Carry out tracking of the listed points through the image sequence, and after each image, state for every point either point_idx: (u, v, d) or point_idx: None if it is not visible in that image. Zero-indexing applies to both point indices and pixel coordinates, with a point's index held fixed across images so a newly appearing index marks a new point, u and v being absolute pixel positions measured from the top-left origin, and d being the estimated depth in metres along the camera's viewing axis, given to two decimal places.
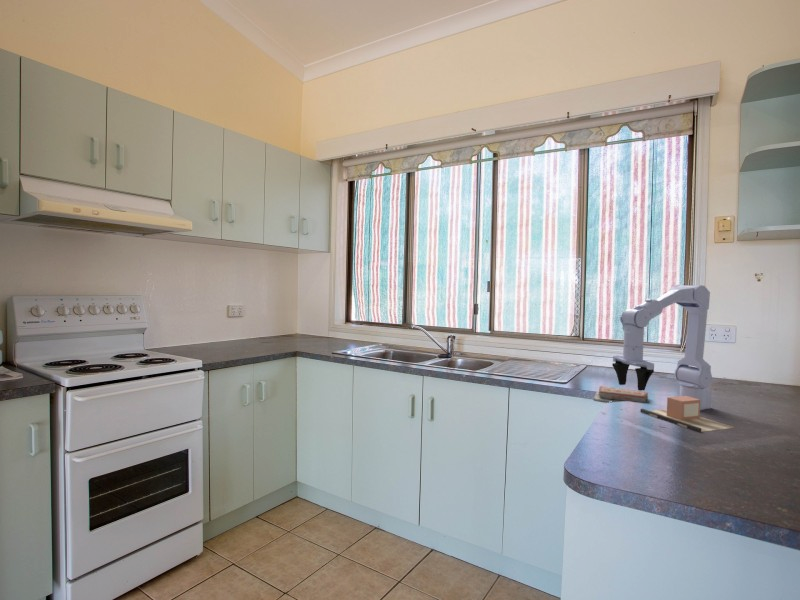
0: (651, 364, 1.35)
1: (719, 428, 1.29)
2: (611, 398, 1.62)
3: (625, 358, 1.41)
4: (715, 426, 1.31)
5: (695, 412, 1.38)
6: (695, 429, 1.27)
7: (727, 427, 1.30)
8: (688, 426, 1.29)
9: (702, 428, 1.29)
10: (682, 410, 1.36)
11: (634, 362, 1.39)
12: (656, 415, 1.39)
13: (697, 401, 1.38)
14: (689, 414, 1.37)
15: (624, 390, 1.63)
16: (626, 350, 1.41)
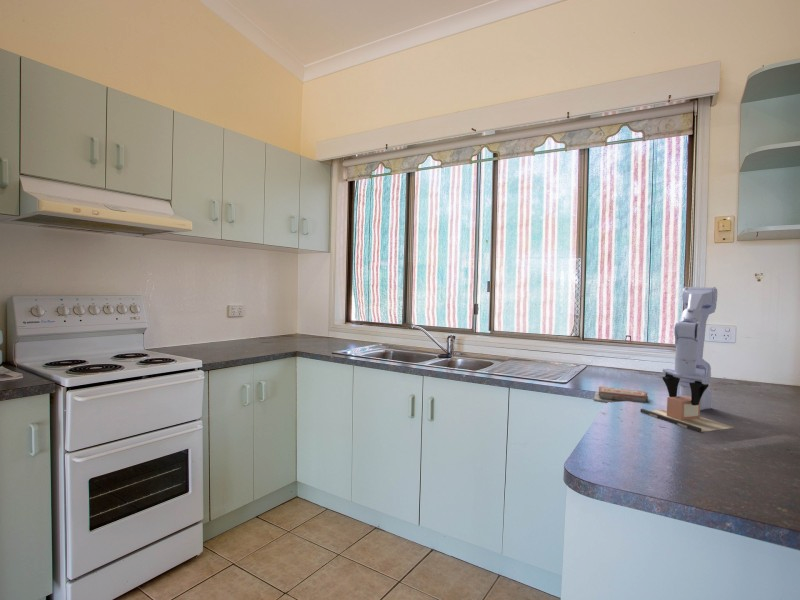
0: (707, 379, 1.32)
1: (719, 428, 1.29)
2: (611, 398, 1.61)
3: (678, 372, 1.39)
4: (715, 426, 1.31)
5: (695, 412, 1.38)
6: (695, 429, 1.27)
7: (727, 427, 1.30)
8: (688, 426, 1.29)
9: (702, 428, 1.29)
10: (682, 410, 1.36)
11: (688, 376, 1.36)
12: (656, 415, 1.39)
13: None
14: (689, 414, 1.37)
15: (624, 390, 1.63)
16: (678, 363, 1.38)
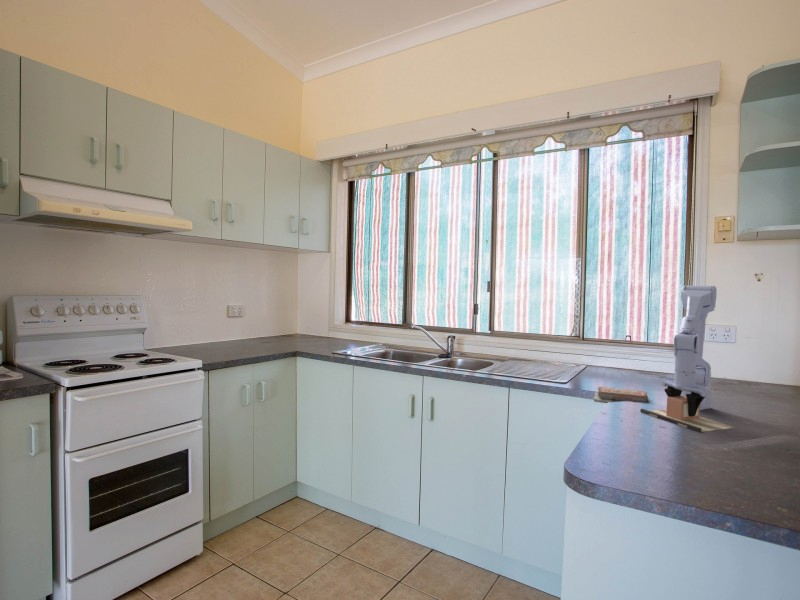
0: (706, 391, 1.33)
1: (719, 428, 1.29)
2: (612, 398, 1.61)
3: (677, 384, 1.39)
4: (715, 426, 1.31)
5: None
6: (695, 429, 1.27)
7: (727, 427, 1.30)
8: (688, 426, 1.29)
9: (702, 428, 1.29)
10: (682, 410, 1.36)
11: (687, 388, 1.36)
12: (656, 415, 1.39)
13: None
14: None
15: (624, 390, 1.63)
16: (678, 375, 1.39)
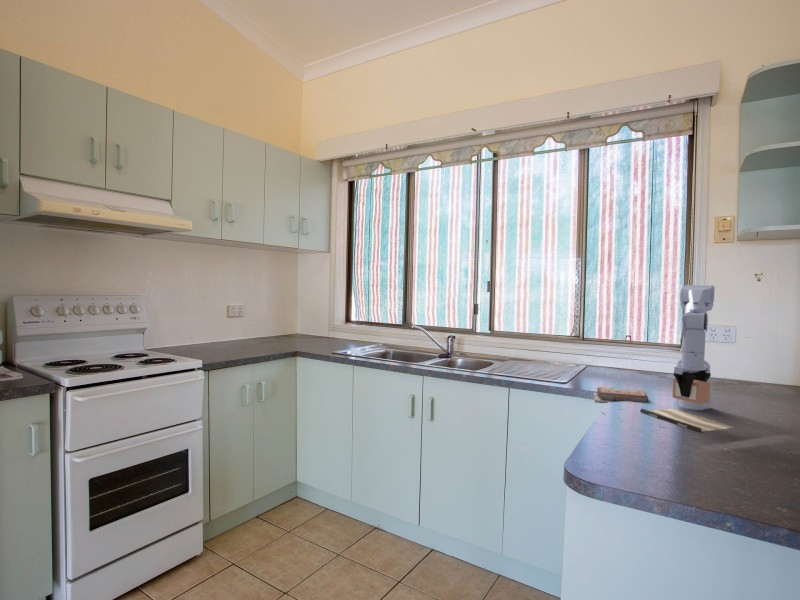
0: (677, 368, 1.31)
1: (719, 428, 1.29)
2: (612, 399, 1.61)
3: None
4: (715, 426, 1.31)
5: (691, 395, 1.31)
6: (695, 429, 1.27)
7: (727, 427, 1.30)
8: (688, 426, 1.29)
9: (702, 428, 1.29)
10: (674, 388, 1.36)
11: None
12: (656, 415, 1.39)
13: (695, 384, 1.30)
14: None
15: (623, 390, 1.63)
16: None
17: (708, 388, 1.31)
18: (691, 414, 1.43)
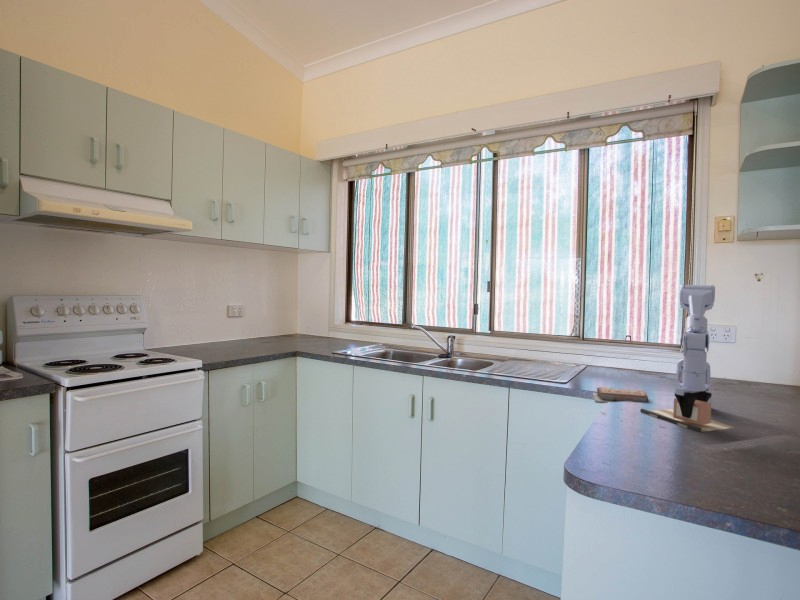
0: (678, 389, 1.29)
1: (719, 428, 1.29)
2: (613, 399, 1.60)
3: None
4: (715, 426, 1.31)
5: (692, 416, 1.30)
6: (695, 429, 1.27)
7: (727, 427, 1.30)
8: (688, 426, 1.29)
9: (702, 428, 1.29)
10: (675, 408, 1.35)
11: None
12: (656, 415, 1.39)
13: (696, 405, 1.29)
14: None
15: (623, 390, 1.63)
16: None
17: (709, 409, 1.30)
18: None
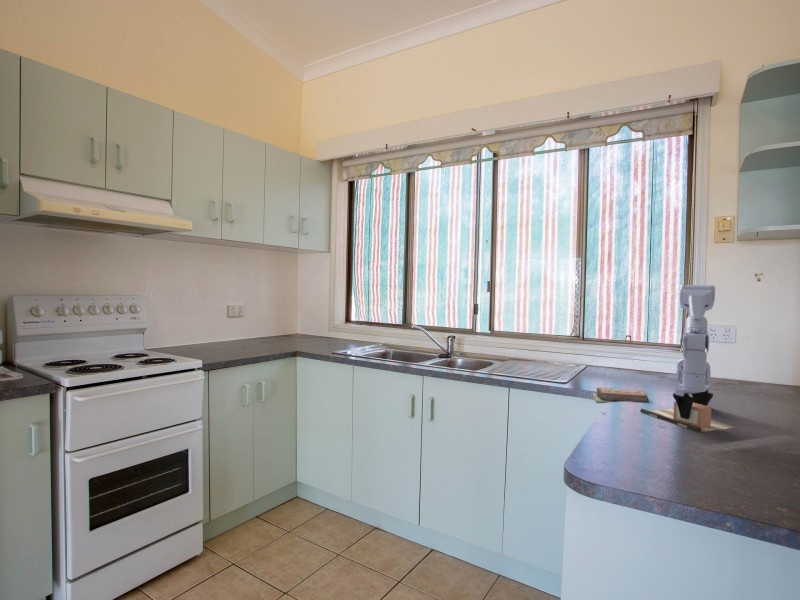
0: (678, 390, 1.29)
1: (719, 428, 1.29)
2: (613, 399, 1.60)
3: None
4: (715, 426, 1.31)
5: (692, 419, 1.30)
6: (695, 429, 1.27)
7: (727, 427, 1.30)
8: (688, 426, 1.29)
9: None
10: (675, 411, 1.35)
11: None
12: (656, 415, 1.39)
13: (696, 409, 1.29)
14: None
15: (623, 390, 1.63)
16: None
17: (709, 412, 1.30)
18: None
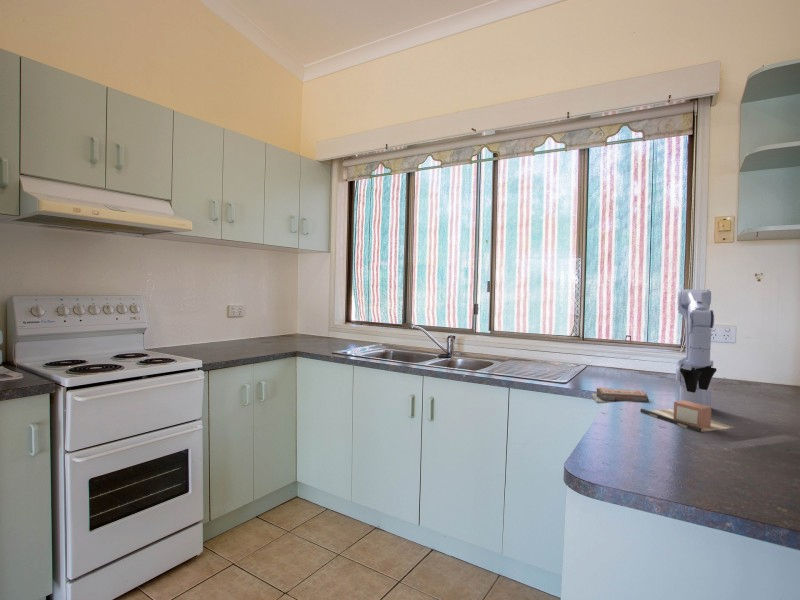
0: (686, 364, 1.34)
1: (719, 428, 1.29)
2: (614, 399, 1.60)
3: None
4: (715, 426, 1.31)
5: (692, 419, 1.30)
6: (695, 429, 1.27)
7: (727, 427, 1.30)
8: (688, 426, 1.29)
9: None
10: (675, 411, 1.35)
11: None
12: (656, 415, 1.39)
13: (696, 409, 1.29)
14: (684, 418, 1.32)
15: (623, 390, 1.63)
16: None
17: (709, 412, 1.30)
18: None
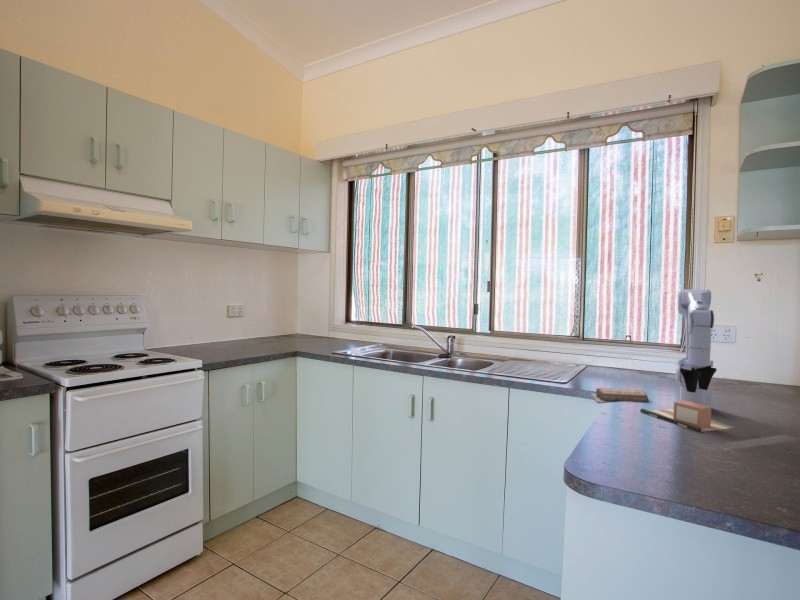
0: (686, 364, 1.34)
1: (719, 428, 1.29)
2: (614, 400, 1.59)
3: None
4: (715, 426, 1.31)
5: (692, 419, 1.30)
6: (695, 429, 1.27)
7: (727, 427, 1.30)
8: (688, 426, 1.29)
9: None
10: (675, 411, 1.35)
11: None
12: (656, 415, 1.39)
13: (696, 409, 1.29)
14: (684, 418, 1.32)
15: (623, 390, 1.63)
16: None
17: (709, 412, 1.30)
18: None
